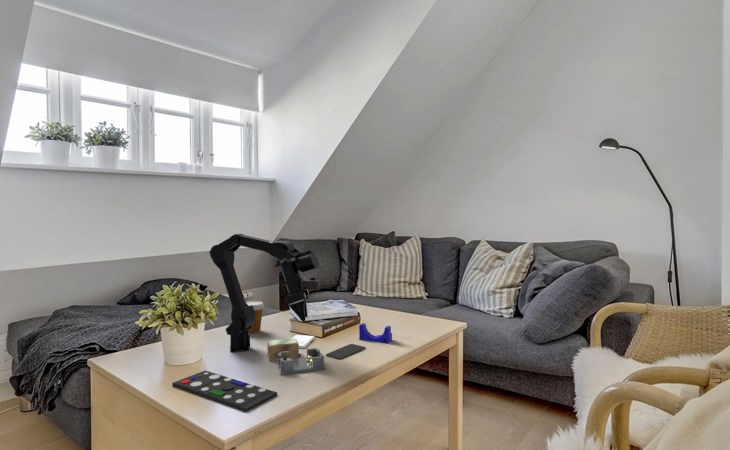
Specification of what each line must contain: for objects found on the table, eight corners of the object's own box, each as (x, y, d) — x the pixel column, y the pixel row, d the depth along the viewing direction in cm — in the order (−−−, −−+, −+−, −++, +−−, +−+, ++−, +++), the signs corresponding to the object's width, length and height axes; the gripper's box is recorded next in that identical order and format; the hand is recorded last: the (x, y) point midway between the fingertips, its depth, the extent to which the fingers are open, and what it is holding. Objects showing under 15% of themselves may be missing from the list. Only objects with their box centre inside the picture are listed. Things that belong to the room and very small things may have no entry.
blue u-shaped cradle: (392, 340, 165) (392, 325, 164) (388, 343, 160) (388, 328, 160) (363, 337, 169) (363, 322, 169) (359, 340, 165) (359, 325, 165)
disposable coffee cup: (263, 334, 172) (262, 305, 172) (239, 335, 170) (238, 306, 170) (265, 328, 181) (264, 300, 181) (242, 329, 180) (241, 301, 180)
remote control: (205, 375, 131) (205, 368, 131) (277, 397, 115) (277, 390, 115) (172, 387, 121) (172, 381, 121) (246, 414, 106) (246, 406, 106)
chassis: (280, 375, 129) (280, 362, 129) (276, 364, 139) (276, 352, 139) (325, 369, 134) (325, 357, 134) (318, 359, 143) (318, 347, 143)
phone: (324, 354, 147) (351, 343, 159) (324, 357, 147) (351, 345, 159) (340, 359, 142) (366, 347, 154) (340, 361, 142) (366, 349, 154)
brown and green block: (269, 361, 142) (268, 345, 142) (267, 355, 148) (267, 340, 148) (298, 358, 145) (298, 342, 145) (296, 352, 151) (295, 337, 151)
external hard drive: (314, 340, 167) (304, 350, 154) (295, 338, 168) (283, 348, 156) (314, 336, 166) (304, 345, 154) (295, 334, 168) (283, 344, 156)
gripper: (312, 270, 139) (326, 315, 138) (315, 268, 157) (328, 308, 157) (279, 280, 138) (293, 326, 137) (286, 277, 157) (299, 318, 156)
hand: (305, 319), depth 147 cm, fingers open, 9 cm apart
